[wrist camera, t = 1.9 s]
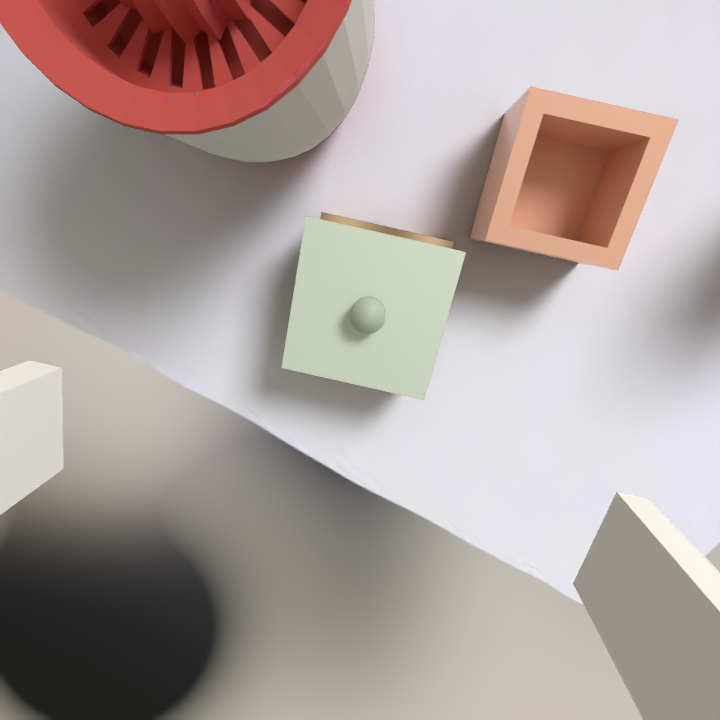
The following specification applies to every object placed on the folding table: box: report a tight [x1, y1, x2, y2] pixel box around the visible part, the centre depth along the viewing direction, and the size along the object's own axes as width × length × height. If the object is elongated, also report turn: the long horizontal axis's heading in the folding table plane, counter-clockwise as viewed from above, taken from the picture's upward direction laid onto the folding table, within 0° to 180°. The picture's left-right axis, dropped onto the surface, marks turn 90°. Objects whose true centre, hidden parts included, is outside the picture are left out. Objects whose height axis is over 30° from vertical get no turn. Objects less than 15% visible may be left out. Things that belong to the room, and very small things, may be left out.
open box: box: [469, 87, 678, 270], centre depth 29 cm, size 9×9×6 cm
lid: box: [281, 217, 466, 400], centre depth 30 cm, size 11×11×4 cm
